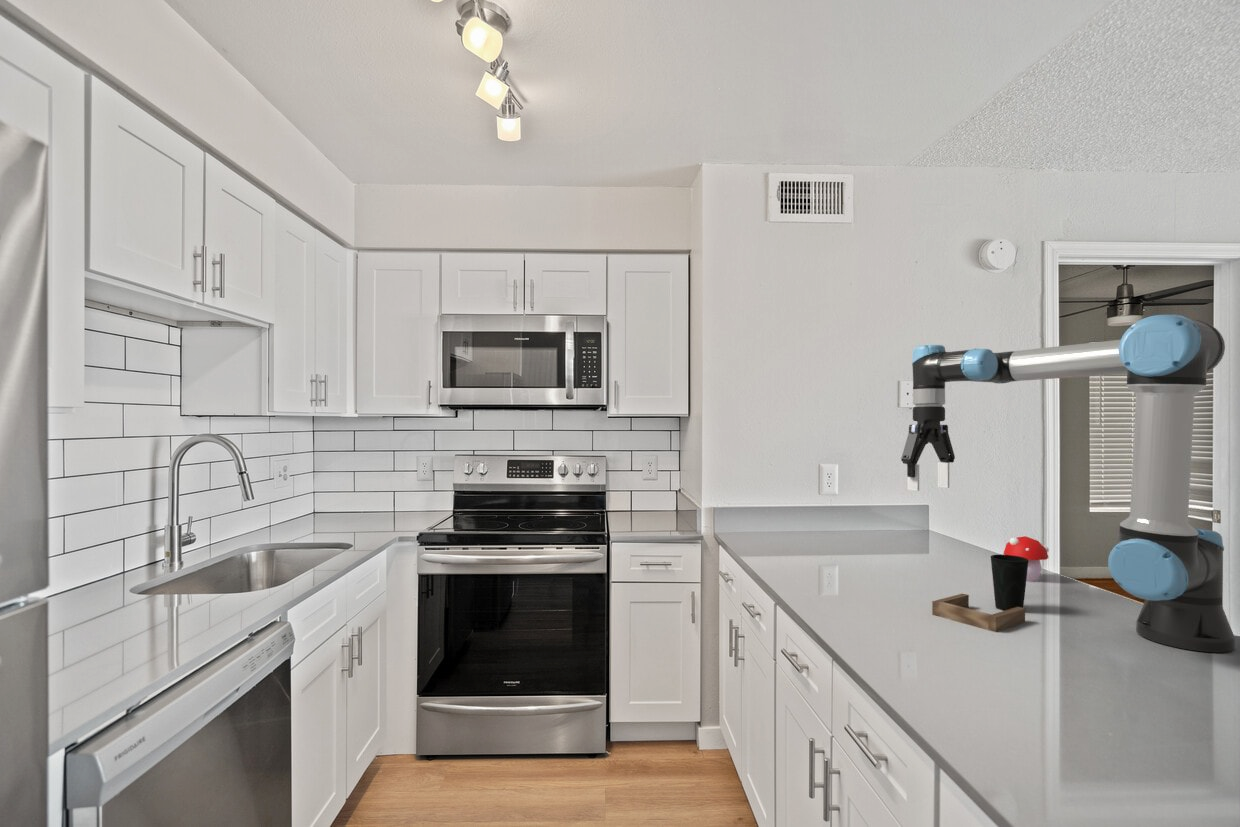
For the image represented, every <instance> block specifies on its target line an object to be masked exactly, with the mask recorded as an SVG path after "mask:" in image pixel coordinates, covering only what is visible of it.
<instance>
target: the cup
mask: <svg viewBox="0 0 1240 827" xmlns="http://www.w3.org/2000/svg"><path fill="white" fill-rule="evenodd" d="M1028 561H1029V560H1028V559H1026V558H1023V557H1019V556H1013V555H1004V554H992V555H990V563H991V564H990V565H991V573H992V575H991V576H992V585H993V594H994V605H995V606H994V607H995V608H996V609H998V610H1000V611H1005V610H1009V609H1012V608H1015V607H1022V608H1024V607H1025V606H1024V605H1025V604H1024V603H1025V596H1026V586H1027V581H1026V579H1027V570H1028Z"/></svg>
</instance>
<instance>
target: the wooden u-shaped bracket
mask: <svg viewBox="0 0 1240 827" xmlns="http://www.w3.org/2000/svg"><path fill="white" fill-rule="evenodd" d="M969 596H970V595H969V594H967V593H959V594H956V595H955V594H954V595H951V596H948V597H944V598H943V597H942V598H938V599H936V600H932V602H931V603H932V606H931V607H932V608H931V609H932V611H931V612H932V613H931V614H932V615H933V616H936V617H941V618H944V619H946V620H947V619H948V620H950V621H955V622H958V623H962V624H966V625H969V626H972V627H976V628H980V629H984V630H988V631H990V632H994V633H996V632H999V631H1002V630H1006V629H1008V628H1011V627H1014V626H1016V625H1019V624H1022V623H1023V624H1024V623H1026V608H1025V607H1023V608H1022V607H1015V608H1012V609H1009V610H1005V611H1003V610H1001V611H999V612H996V613H992V614H991V613H987V612H984V611H979V610H977V609H972V608H969V607H970V606H969V604H970V602H969V601H970V600H969Z"/></svg>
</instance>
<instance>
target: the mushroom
mask: <svg viewBox="0 0 1240 827" xmlns="http://www.w3.org/2000/svg"><path fill="white" fill-rule="evenodd" d="M1049 551H1050V549H1049V547H1048V546H1046V545H1043V544H1042V543H1041V542H1040V541H1039V540H1037V539H1034V538H1031V537H1030V536H1018V537H1011V538H1010V539H1009V541H1008V542H1006V544H1005V547H1004V551H1003V553H1002V555H1013V556H1019V557H1023V558H1026V559H1028V560H1029V561H1028V570H1027V579H1026V583H1027V582H1028V583H1035V582H1039V581H1040V577H1041V571H1042V563H1041V561H1044V560H1048V559H1049V555H1048V552H1049Z"/></svg>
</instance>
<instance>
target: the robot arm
mask: <svg viewBox="0 0 1240 827" xmlns="http://www.w3.org/2000/svg"><path fill="white" fill-rule="evenodd" d="M1225 350H1226V345H1225V339H1224V337H1223V335H1222V333H1221V332H1220V331H1219V330H1218V329H1217V328H1216V327H1215V326H1214V325H1211V324H1209V323H1208V322H1205V321H1201V320H1197V319H1193V318H1188V317H1186V316H1184V315H1179V314H1157V315H1151V316H1148V317H1144V318H1142V319H1139V320H1138V321H1136V322H1135V323H1134V324H1132V325H1131V326H1130V327H1129V328H1128V329H1127V330H1126V331H1125V332H1124V333H1123V334H1122V337H1121V339H1114V340H1106V341H1105V340H1104V341H1094V342H1086V343H1077V344H1067V345H1058V346H1051V347H1050V346H1049V347H1040V348H1031V349H1023V350H1015V351H1014V350H1013V351H1003V352H993V350H991V349H989V348H972V349H964V350H956V351H946V347H945V346H944V345H941V344H928V345H926V344H925V345H923V344H922V345H918V346H916V347H914V349H913V354H912V362H911V365H912V404H913V405H914V406H913V408H912V421H914V422H917V423H916V424H909V425H908V434H907V438H906V441H905V444H904V447H903V451H902V455H901V459H900V460H901V462H902V463H903V464H905V465H906V467H907V468H906V469H907V470H906V472H907V473H906V475H907V479H906V480H907V482H906V483H907V485H906V486H907V491H914V492H916V491H917V492H919V491H920V464H919V463H918V462H919V459H920V457H921V455H922V453H923V451H924V449H925V447H926V445H927V444H931V445H932V448H933V450H934V452H935V453H936V455H937V457H938V460H939V461H938V462H937V488H946V489H950V463H951V464H952V463H954V461H955V459H956V456H955V452H954V448H953V446H952V441H951V438H950V435H949V434H950V433H949V426H948V424H941V422H945V420H946V407H944V406H943V405H945V404H946V383H951V382H976V383H977V382H978V383H979V382H980V383H991V384H992V383H993V384H1007V383H1011V382H1021V381H1023V382H1024V381H1036V380H1039V381H1040V380H1052V379H1067V378H1081V377H1095V376H1097V377H1098V376H1112V375H1115V376H1116V375H1126V387H1127V388H1128V389H1129V390H1130V391H1132V392H1133V393H1134V395H1135V406H1134V407H1135V410H1134V411H1135V412H1134V426H1133V427H1134V430H1133V446H1132V447H1133V449H1132V450H1133V452H1132V470H1131V471H1132V472H1131V487H1130V488H1131V491H1130V506H1129V508H1130V509H1129V515H1128V517H1127V518H1125V519H1124V520H1122V521H1121V522H1120V523H1119V532H1118V533H1119V534H1118V543H1117V544H1116V545H1114V547H1113V548H1112V549H1111V550H1110V553H1109V554H1108V558H1107V559H1108V560H1107V565H1108V569H1109V573H1110V575H1111V577H1112V578H1113V580H1114V581H1115V582H1116V584H1118V586H1119V587H1120V588H1122V590H1123V591H1125V592H1126V593H1128V594H1130V595H1131V596H1133V597H1135V598H1138V599H1142V600H1144V602H1143V605H1142V608H1141V610H1140V612H1139V614H1138V617H1137V619H1136V621H1135V625H1136V626H1135V627H1136V633H1137V634H1138V635H1139V636H1140V637H1143V638H1145V639H1147V640H1150V641H1152V642H1155V643H1158V644H1162V645H1165V646H1169V647H1173V648H1177V649H1178V648H1179V649H1184V650H1191V651H1198V652H1203V653H1204V652H1206V653H1230V652H1232V651H1234V650H1235V649H1236V638H1235V635H1234V632H1233V629H1232V627H1231V624H1230V621H1229V620H1228V617H1227V615H1226V613H1225V610H1224V606H1223V605H1224V603H1223V602H1224V601H1223V599H1224V598H1223V594H1224V590H1223V589H1224V586H1223V585H1224V551H1225V547H1224V544H1223V541H1224V540H1223V537H1222V534H1220V533H1219V532H1218V531H1216V530H1208V529H1199V528H1194V527H1193V526H1192V525H1191V524H1190V523H1189V506H1190V489H1191V488H1190V486H1191V473H1192V472H1191V470H1192V469H1191V468H1192V450H1193V434H1194V433H1193V430H1194V413H1195V411H1194V410H1195V396H1197V394H1198V393H1200V392H1201V391H1203V390H1205V388H1206V387H1207V376H1208V374H1207V373H1209V372H1211V371H1212V370H1213V369H1214V368H1216V367H1217V366H1218V365H1219V363H1220V362H1221V361H1222V360H1223V357H1224V354H1225Z"/></svg>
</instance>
